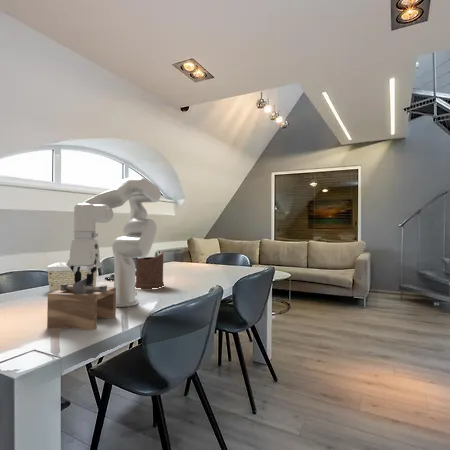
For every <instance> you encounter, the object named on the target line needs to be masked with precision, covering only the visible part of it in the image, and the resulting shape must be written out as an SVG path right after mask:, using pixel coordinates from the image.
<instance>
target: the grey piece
mask: <svg viewBox="0 0 450 450" xmlns="http://www.w3.org/2000/svg"><path fill="white" fill-rule="evenodd" d="M84 285H85V286H93V283H92V284H89V285H87V278H84V279H82V280H80V281H78V282H77V283H75V284H73V287H74V290H75V292H76V294H85V292H84V289H83V287H82V286H84ZM94 292H96V291H88V290H87V293H88V294H92V293H94Z"/></svg>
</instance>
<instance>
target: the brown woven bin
mask: <svg viewBox="0 0 450 450" xmlns="http://www.w3.org/2000/svg"><path fill="white" fill-rule="evenodd" d="M134 258H135V267H136V271H135V287H136V288H141V289H152V288H159V287H162V286H164V285H165V284H164V253H163V252H162V253H160V254H159V255H157V256H146V257H143V258H137V257H134Z"/></svg>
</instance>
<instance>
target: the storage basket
mask: <svg viewBox="0 0 450 450" xmlns="http://www.w3.org/2000/svg"><path fill="white" fill-rule="evenodd" d="M66 264H67V262H59V261H58V262H55V263H52V264H50V265H47V266H46V271H47V278H48V279H47V281H48V291H49V293H52V292H55V291H58V290H61V284H69V285H72V286H73V284H75V281H74V273H73V271H72V270H71V268H70V267H68V266H67V265H66ZM95 266H96V265H94V267H95ZM80 272H81V280H82V279H84V278H87V274H88V269H87V266H81V269H80ZM97 274H98V269H97V270H96V271H95V273H94V276H93V286H97V276H98V275H97ZM84 286H85V285H84Z"/></svg>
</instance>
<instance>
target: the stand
mask: <svg viewBox="0 0 450 450" xmlns="http://www.w3.org/2000/svg"><path fill="white" fill-rule="evenodd" d="M82 287H83V289H84V292H85V294H76V292H75V290H74V287H73V286H72V285H69V284H61V290H58V291H55V292H49V293H47V309H46V310H47V316H46V317H47V318H46V319H47V320H46V327H47V328H60V329H74V330H75V329H76V330H89V331H94V330H96V329H97V326H98V325H97V322H98V321H97V320H98V319H97V318H101V319H103V318H104V319H115V318H116V315H117V314H116V312H117V310H116V309H117V307H116V287H114V286H108V285H100V286H97V285H96V286H82ZM87 290H88V291H96V292H94V293H92V294H88V293H87Z"/></svg>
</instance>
